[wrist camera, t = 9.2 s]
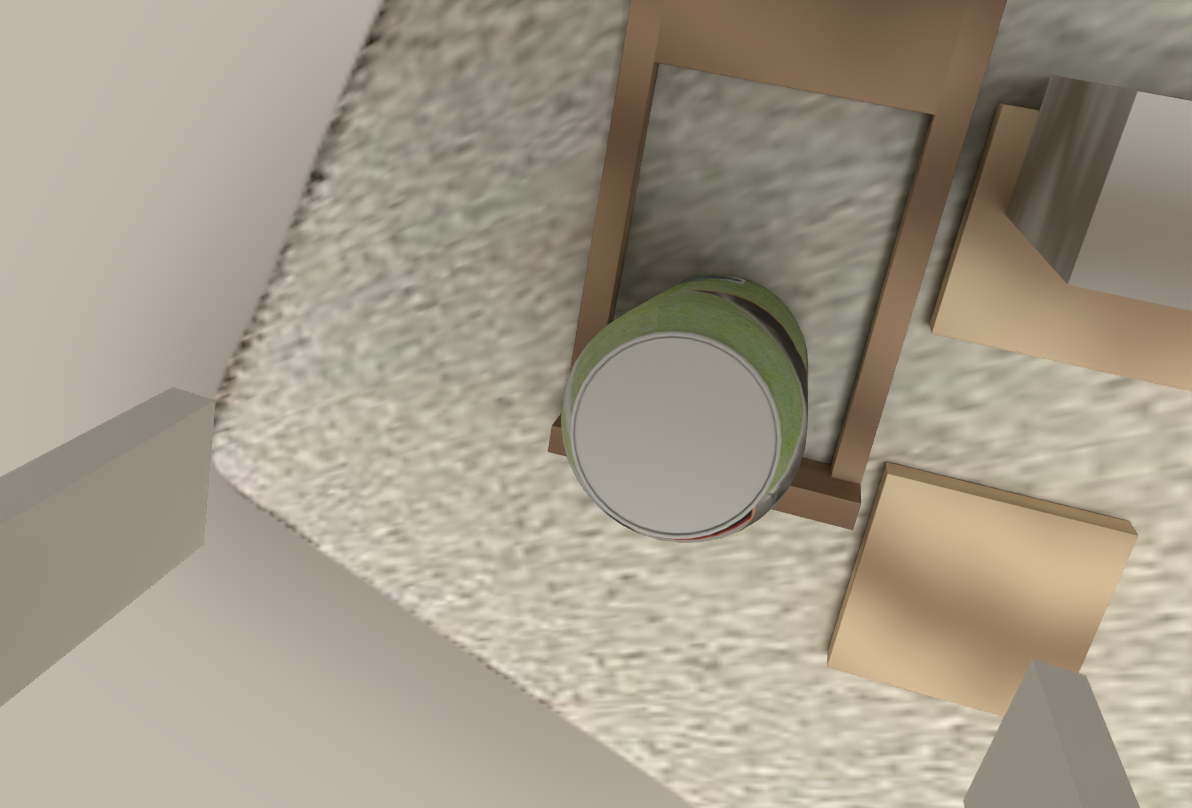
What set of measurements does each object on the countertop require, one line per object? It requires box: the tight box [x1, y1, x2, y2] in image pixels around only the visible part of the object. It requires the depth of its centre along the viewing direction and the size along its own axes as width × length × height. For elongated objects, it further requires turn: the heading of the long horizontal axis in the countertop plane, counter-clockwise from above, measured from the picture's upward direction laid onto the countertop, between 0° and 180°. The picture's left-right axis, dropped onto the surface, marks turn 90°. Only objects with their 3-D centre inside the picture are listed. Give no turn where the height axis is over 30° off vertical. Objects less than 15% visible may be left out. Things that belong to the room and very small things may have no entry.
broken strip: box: [827, 75, 1192, 717], centre depth 27 cm, size 21×8×10 cm, turn 170°
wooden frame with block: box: [548, 0, 1007, 530], centre depth 26 cm, size 22×10×10 cm, turn 170°
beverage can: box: [561, 275, 808, 543], centre depth 28 cm, size 6×7×12 cm
